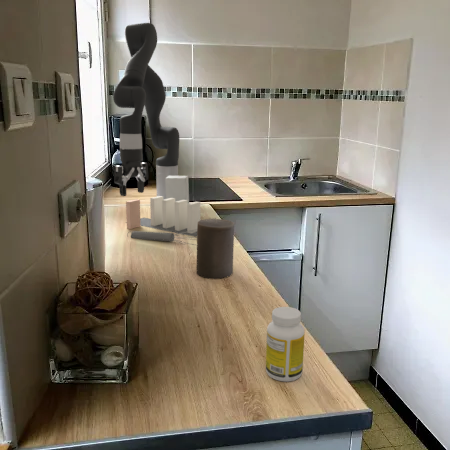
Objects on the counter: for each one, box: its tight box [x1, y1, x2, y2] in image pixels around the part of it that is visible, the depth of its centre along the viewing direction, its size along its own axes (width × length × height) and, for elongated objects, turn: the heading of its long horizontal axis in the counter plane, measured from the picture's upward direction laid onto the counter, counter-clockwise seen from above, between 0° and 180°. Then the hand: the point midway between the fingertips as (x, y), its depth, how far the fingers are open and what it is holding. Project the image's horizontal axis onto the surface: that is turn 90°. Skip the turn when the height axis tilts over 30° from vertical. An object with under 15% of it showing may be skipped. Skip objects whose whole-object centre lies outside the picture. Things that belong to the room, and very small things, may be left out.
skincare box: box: [165, 175, 190, 204], centre depth 190 cm, size 8×7×16 cm
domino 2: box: [149, 195, 163, 226], centre depth 175 cm, size 5×2×10 cm, turn 147°
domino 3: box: [162, 198, 175, 228], centre depth 172 cm, size 5×2×10 cm, turn 147°
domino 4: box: [175, 200, 188, 231], centre depth 169 cm, size 5×2×10 cm, turn 147°
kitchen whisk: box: [126, 230, 197, 246], centre depth 154 cm, size 6×34×6 cm, turn 69°
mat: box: [125, 217, 197, 237], centre depth 173 cm, size 10×32×1 cm, turn 57°
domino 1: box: [125, 198, 142, 230], centre depth 170 cm, size 5×2×10 cm, turn 147°
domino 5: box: [187, 201, 201, 233], centre depth 166 cm, size 5×2×10 cm, turn 147°
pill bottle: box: [265, 306, 305, 382], centre depth 80 cm, size 6×6×11 cm
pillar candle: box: [196, 217, 235, 279], centre depth 127 cm, size 10×10×15 cm
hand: (132, 194), depth 168 cm, fingers open, 8 cm apart
